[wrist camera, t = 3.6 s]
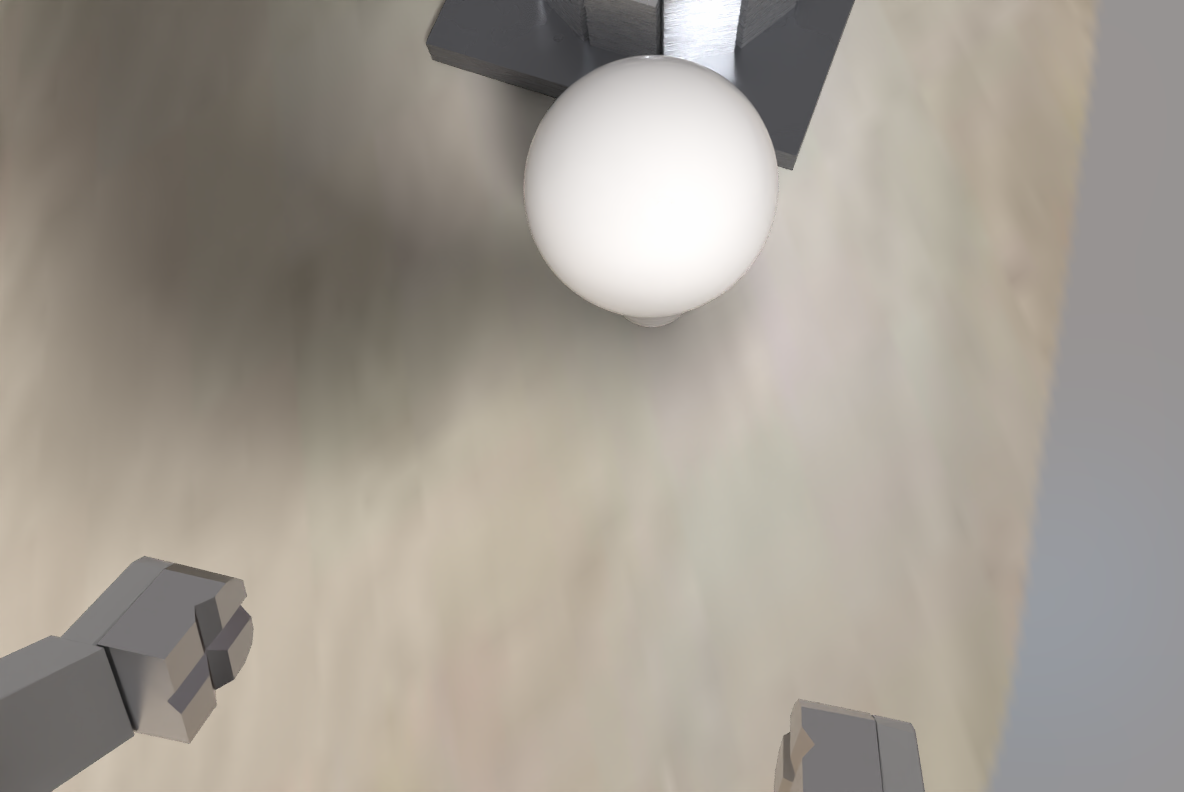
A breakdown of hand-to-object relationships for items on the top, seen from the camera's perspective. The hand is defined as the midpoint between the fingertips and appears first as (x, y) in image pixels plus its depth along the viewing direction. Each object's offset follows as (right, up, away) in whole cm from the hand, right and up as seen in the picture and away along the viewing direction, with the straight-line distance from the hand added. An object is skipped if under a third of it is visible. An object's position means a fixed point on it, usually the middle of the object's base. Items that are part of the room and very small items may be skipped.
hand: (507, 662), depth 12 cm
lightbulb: (+3, +7, +17) cm, 19 cm away
